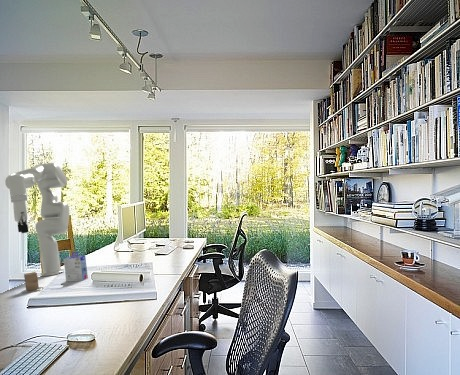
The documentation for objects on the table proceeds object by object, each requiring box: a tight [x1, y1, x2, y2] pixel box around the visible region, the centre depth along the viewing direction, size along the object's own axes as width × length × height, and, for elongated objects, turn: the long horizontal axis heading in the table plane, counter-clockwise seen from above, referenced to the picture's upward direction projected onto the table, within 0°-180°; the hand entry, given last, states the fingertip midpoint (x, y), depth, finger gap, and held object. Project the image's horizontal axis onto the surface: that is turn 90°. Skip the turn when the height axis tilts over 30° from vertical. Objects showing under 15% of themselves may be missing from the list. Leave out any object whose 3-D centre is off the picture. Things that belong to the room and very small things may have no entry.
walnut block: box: [23, 271, 40, 292], centre depth 224 cm, size 5×5×8 cm
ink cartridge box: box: [63, 251, 89, 283], centre depth 237 cm, size 10×6×14 cm, turn 78°
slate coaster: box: [20, 286, 44, 295], centre depth 223 cm, size 10×10×1 cm
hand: (23, 232), depth 233 cm, fingers open, 9 cm apart
